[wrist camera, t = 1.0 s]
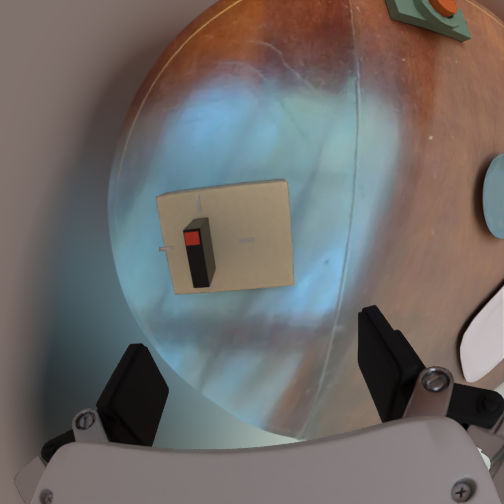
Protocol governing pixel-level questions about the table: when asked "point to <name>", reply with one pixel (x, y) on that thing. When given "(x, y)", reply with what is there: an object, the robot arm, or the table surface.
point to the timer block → (429, 18)
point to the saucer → (494, 197)
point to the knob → (200, 252)
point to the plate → (484, 339)
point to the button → (444, 7)
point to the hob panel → (232, 234)
